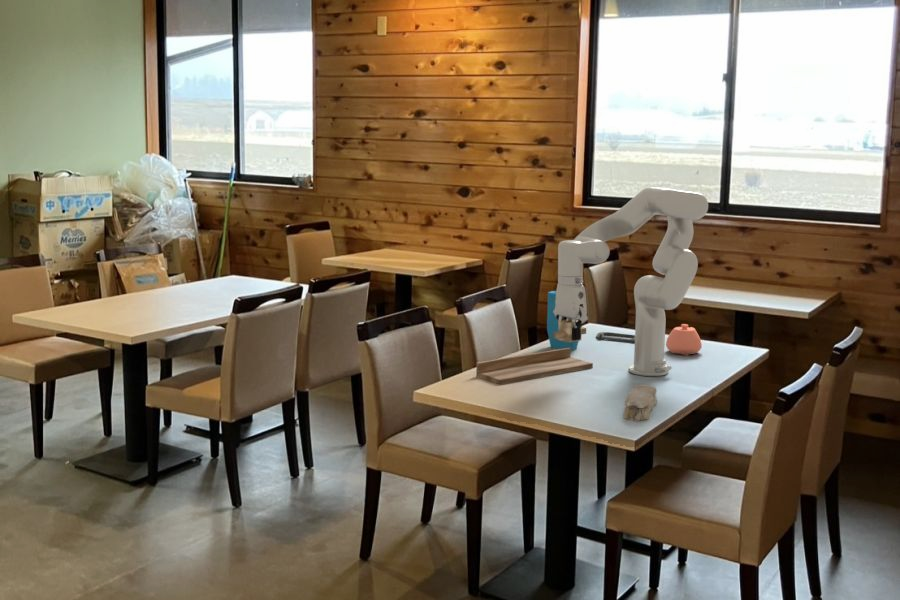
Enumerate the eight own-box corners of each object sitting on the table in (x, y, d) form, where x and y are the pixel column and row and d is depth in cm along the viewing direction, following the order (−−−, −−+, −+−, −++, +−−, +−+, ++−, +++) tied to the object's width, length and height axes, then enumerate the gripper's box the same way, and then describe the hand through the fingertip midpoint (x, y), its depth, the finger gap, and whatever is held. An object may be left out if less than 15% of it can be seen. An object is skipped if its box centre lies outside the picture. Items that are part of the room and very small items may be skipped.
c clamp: (653, 340, 369) (654, 333, 368) (637, 349, 354) (638, 341, 354) (603, 334, 379) (603, 327, 378) (585, 342, 364) (586, 335, 364)
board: (592, 367, 323) (593, 354, 323) (499, 384, 301) (499, 370, 300) (568, 360, 333) (568, 347, 332) (476, 376, 311) (476, 362, 310)
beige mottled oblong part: (648, 423, 264) (649, 405, 263) (621, 420, 266) (621, 403, 265) (658, 400, 286) (659, 384, 286) (633, 398, 289) (633, 381, 288)
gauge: (589, 338, 306) (589, 317, 305) (560, 344, 299) (560, 323, 298) (578, 335, 310) (578, 315, 309) (550, 341, 303) (550, 320, 302)
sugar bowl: (659, 352, 346) (660, 324, 344) (678, 346, 356) (680, 319, 355) (690, 358, 338) (691, 329, 336) (709, 351, 348) (711, 323, 347)
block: (545, 347, 353) (547, 292, 349) (551, 344, 357) (553, 290, 354) (576, 351, 347) (578, 295, 343) (581, 348, 351) (583, 294, 347)
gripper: (598, 282, 296) (597, 341, 300) (561, 275, 310) (560, 331, 313) (580, 285, 292) (579, 345, 295) (543, 278, 306) (543, 335, 309)
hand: (570, 337), depth 304 cm, fingers closed on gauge, 5 cm apart
